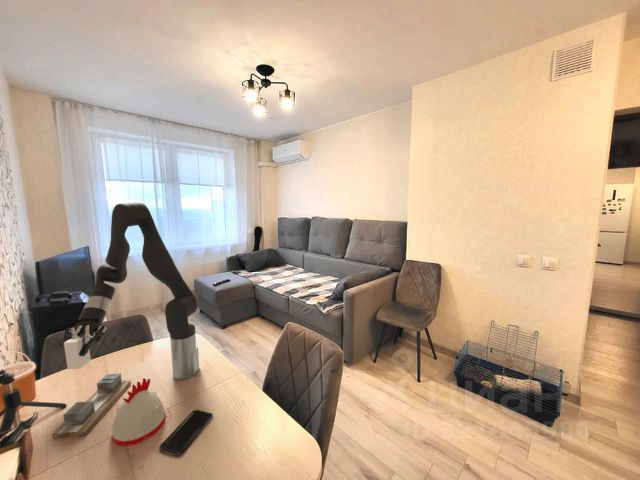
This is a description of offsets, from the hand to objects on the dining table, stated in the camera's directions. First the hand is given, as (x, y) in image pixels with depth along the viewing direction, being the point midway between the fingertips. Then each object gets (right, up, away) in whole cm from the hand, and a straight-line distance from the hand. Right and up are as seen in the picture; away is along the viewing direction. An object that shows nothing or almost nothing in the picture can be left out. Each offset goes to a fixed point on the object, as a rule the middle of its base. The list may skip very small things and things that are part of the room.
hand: (74, 355), depth 92 cm
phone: (+47, -19, -12) cm, 52 cm away
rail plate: (+10, -17, -3) cm, 20 cm away
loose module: (0, -4, +2) cm, 5 cm away
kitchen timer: (+30, -18, -10) cm, 37 cm away
